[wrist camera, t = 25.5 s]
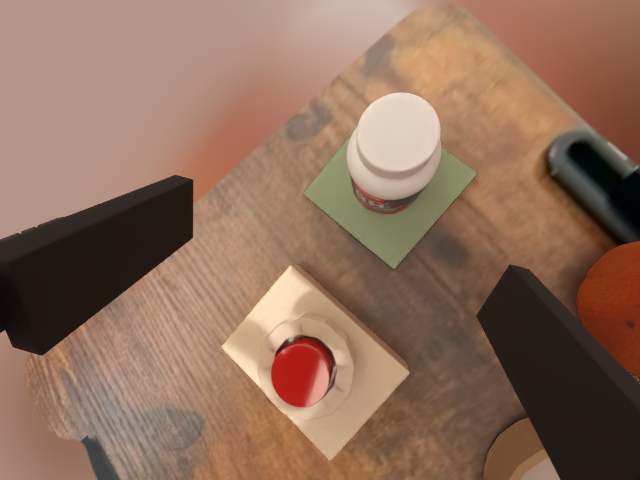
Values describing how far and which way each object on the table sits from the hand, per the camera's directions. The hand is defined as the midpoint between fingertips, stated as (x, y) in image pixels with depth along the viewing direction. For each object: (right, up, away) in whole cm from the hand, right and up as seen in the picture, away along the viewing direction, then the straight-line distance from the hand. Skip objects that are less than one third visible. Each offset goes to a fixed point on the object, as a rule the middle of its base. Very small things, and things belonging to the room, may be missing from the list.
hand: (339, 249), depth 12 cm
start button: (-2, -9, +8) cm, 12 cm away
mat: (+5, +5, +12) cm, 14 cm away
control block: (-1, -9, +12) cm, 15 cm away
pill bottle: (+5, +5, +11) cm, 13 cm away
